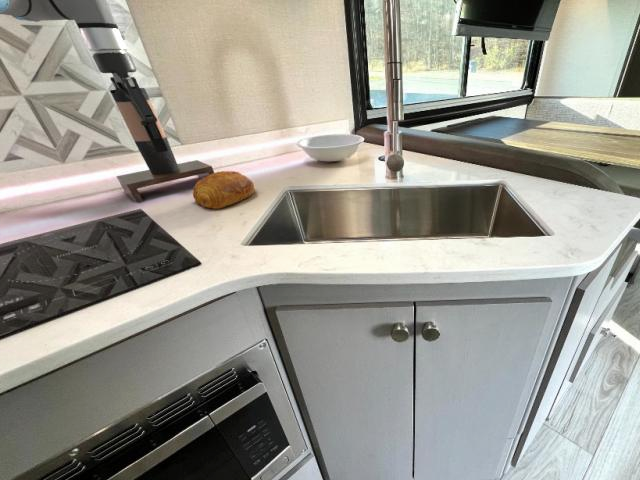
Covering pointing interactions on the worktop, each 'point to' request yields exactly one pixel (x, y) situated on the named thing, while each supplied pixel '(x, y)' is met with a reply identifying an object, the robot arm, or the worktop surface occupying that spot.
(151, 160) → the travel mug
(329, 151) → the soup bowl
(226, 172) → the croissant
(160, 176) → the shelf
